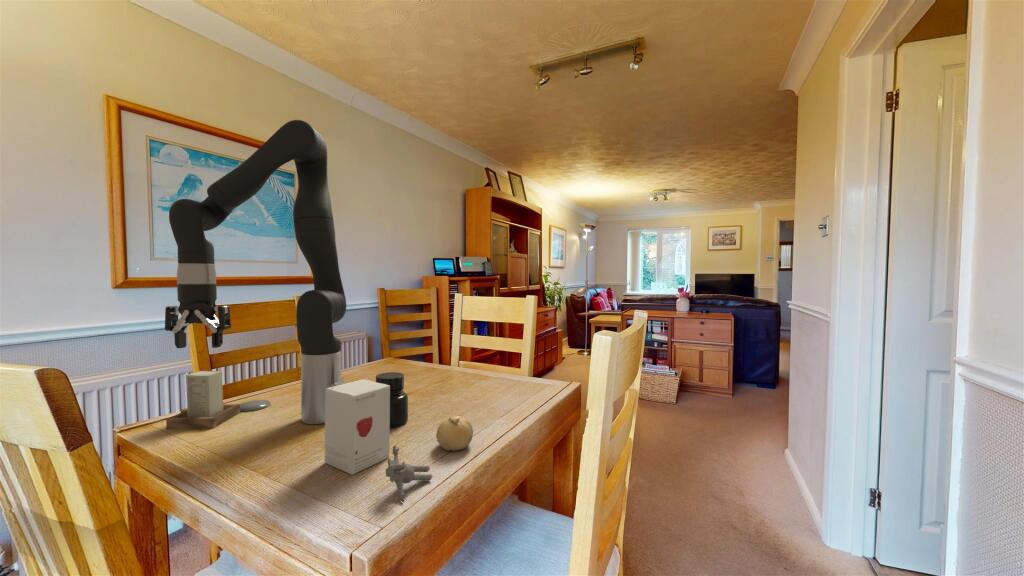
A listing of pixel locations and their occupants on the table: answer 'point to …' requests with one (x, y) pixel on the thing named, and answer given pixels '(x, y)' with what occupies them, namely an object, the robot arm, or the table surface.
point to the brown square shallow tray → (202, 419)
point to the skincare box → (204, 393)
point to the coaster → (254, 405)
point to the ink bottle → (395, 397)
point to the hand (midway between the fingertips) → (199, 347)
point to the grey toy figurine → (404, 473)
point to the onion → (454, 433)
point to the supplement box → (357, 425)
